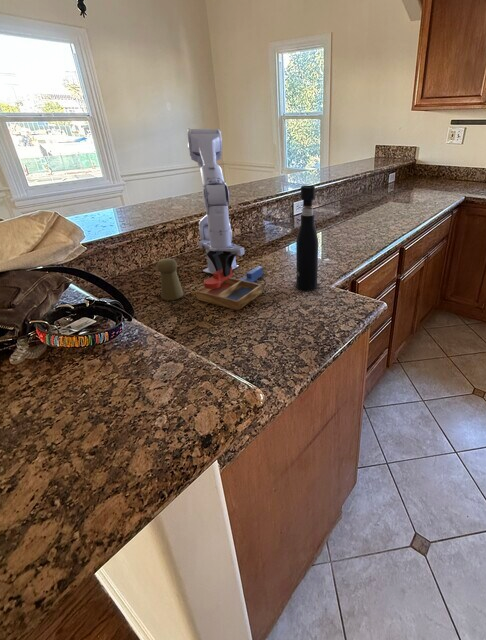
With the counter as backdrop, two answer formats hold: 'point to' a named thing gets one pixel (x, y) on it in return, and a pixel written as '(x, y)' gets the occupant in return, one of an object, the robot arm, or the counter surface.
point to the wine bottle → (307, 244)
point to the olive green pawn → (169, 280)
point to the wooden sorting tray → (230, 293)
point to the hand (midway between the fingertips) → (223, 274)
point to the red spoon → (216, 279)
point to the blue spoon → (253, 274)
